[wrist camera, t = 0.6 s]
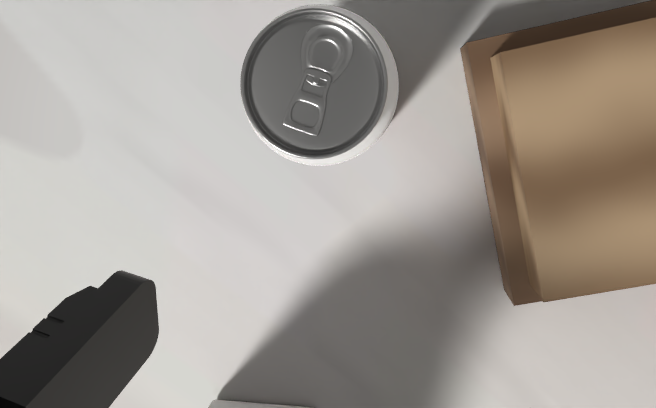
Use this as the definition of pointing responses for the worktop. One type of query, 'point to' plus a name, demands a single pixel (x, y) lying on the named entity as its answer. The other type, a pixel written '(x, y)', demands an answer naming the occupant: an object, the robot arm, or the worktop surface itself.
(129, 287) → the robot arm
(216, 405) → the soap bottle
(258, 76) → the can
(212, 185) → the worktop surface
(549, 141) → the tower base
